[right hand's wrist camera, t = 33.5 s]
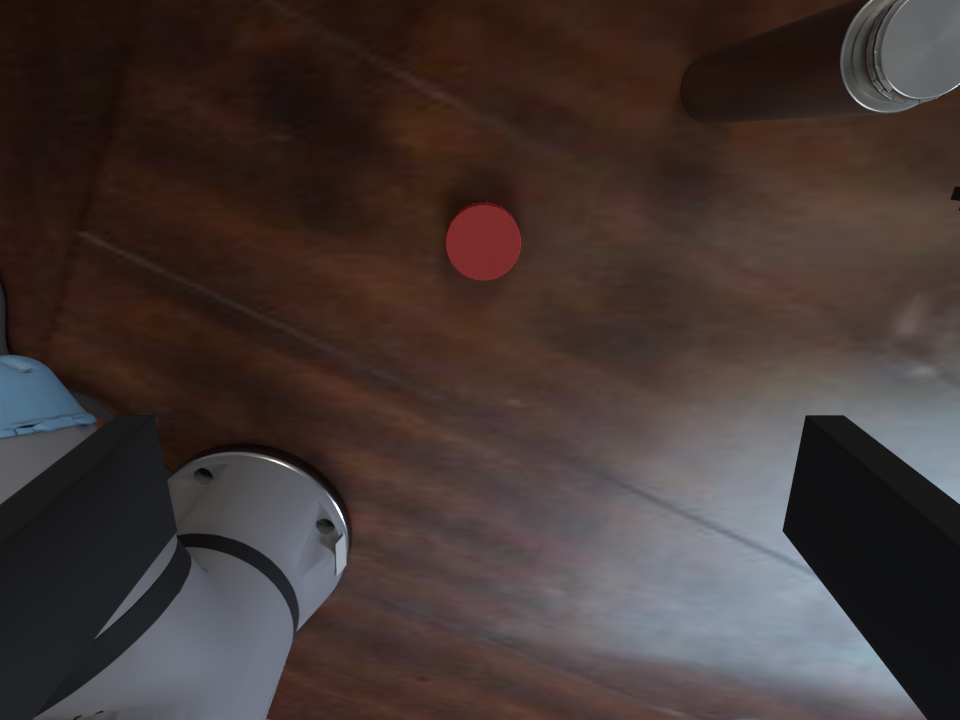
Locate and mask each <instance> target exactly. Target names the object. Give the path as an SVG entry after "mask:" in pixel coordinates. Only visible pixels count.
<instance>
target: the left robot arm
mask: <svg viewBox="0 0 960 720" xmlns="http://www.w3.org/2000/svg"><path fill="white" fill-rule="evenodd" d="M951 200H958V201H960V187H955V188H954V191H953V194H952V197H951ZM959 211H960V208H959Z"/></svg>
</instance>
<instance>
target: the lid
mask: <svg viewBox="0 0 960 720" xmlns="http://www.w3.org/2000/svg"><path fill="white" fill-rule="evenodd" d="M519 229H520V228H519V226H518V225H517V224H516V222H515V220H514V219H513V216H512V214H511V213H510V214H509V212H508V211H506V210H505V209H504V208H502V207H501V205H496V204H493V203H489V202H487V201H486V202H478V203H474V202H472V204H470V205H468V206H466V207H464V208H463V209H460V210H459V212H458V213H457V214H456V215H455V217H454V218H453V219H451V221H450V226H449V228H448V231H447V232H446V235H445V236H446V250H447V254H448V257H449V259H450V261H451V263H452V264H453V266H454V267H455V268H456V269H457V270H458V271H459V272H460V273H461V274H463V275H465V276H466V277H469V278H471V279H475V280H483V281H485V280H492V279H495V278H498V277H500V276H502V275H504V274H505V273H506V272H508V271H509V270H510V269H511V268H512V267H513V265H514V264H515V262H516V261H517V258H518V257H519V253H520V248H521V243H522V241H521V237H520V232H519Z"/></svg>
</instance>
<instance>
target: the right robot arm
mask: <svg viewBox="0 0 960 720" xmlns="http://www.w3.org/2000/svg"><path fill="white" fill-rule="evenodd" d="M80 405H83V406H84V407H86V408H88V409H90V410H91V411H93V412H94V413H95V414H97V415H98V416H99V417H100V418H102V419H103V420H104V421H105V422H106V424H104V425H103V426H102V427H101V428H99V429H98V427H97V426H96V425H95V423H96V422H97V421H96V419H95V417H94V415H93V414H89V413H86V412H85V410H84V409H83V408H82V407H81V406H80ZM783 532H784V533H785V535H786V536H787V537H788V539H789V540H790V541H791V543H792V544H793V545H794V546H795V548H796V549H797V550H798V552H799V553H800V554H801V556H802V557H803V558H804V560H805V561H806V562H807V563H808V565H809V566H810V567H811V569H812V570H813V571H814V573H815V574H816V575H817V576H818V578H819V579H820V580H821V582H822V583H823V584H824V586H825V587H826V588H827V590H828V591H829V592H830V593H831V595H832V596H833V597H834V599H835V600H836V601H837V603H838V604H839V605H840V606H841V608H842V609H843V610H844V612H845V613H846V614H847V616H848V617H849V618H850V619H851V621H852V622H853V623H854V625H855V626H856V627H857V629H858V630H859V631H860V633H861V634H862V635H863V636H864V638H865V639H866V640H867V642H868V643H869V644H870V646H871V647H872V648H873V649H874V651H875V652H876V653H877V655H878V656H879V657H880V659H881V660H882V661H883V663H884V664H885V665H886V666H887V668H888V669H889V670H890V672H891V673H892V674H893V676H894V677H895V678H896V679H897V681H898V682H899V683H900V685H901V686H902V687H903V689H904V690H905V691H906V692H907V694H908V695H909V696H910V698H911V699H912V700H913V702H914V703H915V704H916V706H917V707H918V708H919V709H920V711H921V712H922V713H923V715H924V716H925V717H926V719H927V720H960V504H959V503H957V502H956V501H955V500H953V499H952V498H951V497H949V496H948V495H947V494H946V493H944V492H943V491H942V490H940V489H939V488H938V487H936V486H935V485H934V484H932V483H931V482H930V481H929V480H927V479H926V478H925V477H923V476H922V475H921V474H919V473H918V472H917V471H916V470H914V469H913V468H912V467H910V466H909V465H908V464H906V463H905V462H904V461H902V460H901V459H900V458H899V457H897V456H896V455H895V454H893V453H892V452H891V451H889V450H888V449H887V448H886V447H884V446H883V445H882V444H880V443H879V442H878V441H876V440H875V439H874V438H872V437H871V436H870V435H869V434H867V433H866V432H865V431H863V430H862V429H861V428H859V427H858V426H857V425H856V424H854V423H853V422H852V421H850V420H849V419H848V418H846V417H845V416H844V415H806V417H805V422H804V427H803V432H802V437H801V442H800V447H799V452H798V457H797V462H796V467H795V472H794V477H793V482H792V487H791V492H790V497H789V502H788V506H787V511H786V516H785V521H784V526H783ZM351 544H352V528H351V522H350V518H349V514H348V511H347V509H346V506H345V504H344V502H343V500H342V498H341V496H340V495H339V493H338V492H337V490H336V489H335V488H334V486H333V485H332V484H331V483H330V482H329V481H328V480H327V479H326V478H325V477H324V476H323V475H322V474H321V473H320V472H319V471H318V470H316V469H315V468H314V467H312V466H311V465H310V464H308V463H307V462H305V461H303V460H302V459H300V458H298V457H296V456H294V455H292V454H290V453H287V452H284V451H282V450H279V449H275V448H272V447H267V446H262V445H255V444H229V445H223V446H218V447H214V448H211V449H208V450H205V451H202V452H200V453H198V454H196V455H194V456H192V457H191V458H189V459H188V460H186V461H185V462H184V463H182V464H181V465H180V466H179V467H178V468H177V469H176V470H175V471H174V472H172V471H171V470H170V469H169V468H168V467H167V466H166V465H165V464H164V462H163V457H162V452H161V447H160V442H159V437H158V432H157V427H156V422H155V417H154V415H116V416H115V415H114V414H113V413H112V412H111V411H110V410H108V409H107V408H106V407H105V406H103V405H102V404H101V403H99V402H98V401H96V400H95V399H93V398H91V397H89V396H87V395H85V394H83V393H80V392H77V391H74V390H70V389H67V388H65V387H64V385H63V384H62V383H61V382H60V381H59V379H58V378H57V377H56V376H55V375H54V373H53V372H52V371H51V370H50V369H49V368H48V367H47V366H45V365H44V364H42V363H41V362H39V361H37V360H35V359H32V358H28V357H24V356H18V355H10V353H9V351H8V347H7V342H6V304H5V297H4V292H3V289H2V285H1V283H0V720H265V719H266V717H267V714H268V711H269V708H270V705H271V702H272V699H273V696H274V693H275V691H276V688H277V685H278V682H279V679H280V676H281V673H282V670H283V667H284V665H285V662H286V659H287V656H288V653H289V650H290V647H291V644H292V642H293V639H294V636H295V634H296V632H297V631H298V629H299V628H300V627H301V626H302V625H303V624H304V623H305V622H306V621H307V619H308V618H309V617H310V616H311V615H312V614H313V613H314V612H315V611H316V610H317V608H318V607H319V606H320V605H321V604H322V603H323V602H324V601H325V600H326V599H327V597H328V596H329V595H330V594H331V593H332V591H333V590H334V588H335V587H336V586H337V584H338V583H339V581H340V579H341V577H342V575H343V572H344V569H345V566H346V563H347V560H348V557H349V553H350V549H351Z"/></svg>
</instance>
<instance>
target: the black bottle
mask: <svg viewBox="0 0 960 720" xmlns="http://www.w3.org/2000/svg"><path fill="white" fill-rule="evenodd" d="M959 84H960V0H851V1H849V2H846V3H843V4H841V5H838V6H835V7H832V8H830V9H827V10H824V11H821V12H819V13H816V14H813V15H810V16H808V17H805V18H802V19H800V20H797V21H794V22H791V23H789V24H786V25H783V26H780V27H778V28H775V29H772V30H770V31H767V32H764V33H761V34H759V35H756V36H753V37H750V38H748V39H745V40H742V41H739V42H737V43H734V44H731V45H729V46H726V47H723V48H720V49H718V50H715V51H712V52H709V53H707V54H704V55H703V56H701V57H699V58H698V59H697V60H696V61H695V62H693V64H692V65H691V66H690V67H689V69H688V70H687V72H686V74H685V76H684V79H683V82H682V88H681V96H682V101H683V104H684V107H685V109H686V111H687V112H688V113H689V114H690V115H691V116H692V117H693V118H694V119H696V120H698V121H700V122H703V123H727V122H745V121H763V120H780V119H798V118H816V117H833V116H851V115H868V114H886V113H896V112H901V111H904V110H907V109H910V108H912V107H914V106H916V105H918V104H920V103H923V102H927V101H930V100H933V99H936V98H938V97H939V96H941V95H943V94H945V93H947V92H949V91H951V90H952V89H954V88H955V87H957V86H958V85H959Z"/></svg>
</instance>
